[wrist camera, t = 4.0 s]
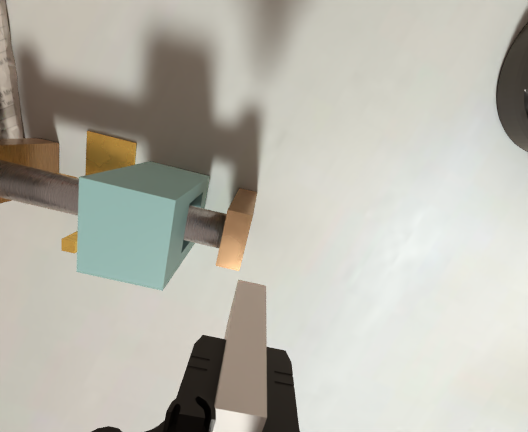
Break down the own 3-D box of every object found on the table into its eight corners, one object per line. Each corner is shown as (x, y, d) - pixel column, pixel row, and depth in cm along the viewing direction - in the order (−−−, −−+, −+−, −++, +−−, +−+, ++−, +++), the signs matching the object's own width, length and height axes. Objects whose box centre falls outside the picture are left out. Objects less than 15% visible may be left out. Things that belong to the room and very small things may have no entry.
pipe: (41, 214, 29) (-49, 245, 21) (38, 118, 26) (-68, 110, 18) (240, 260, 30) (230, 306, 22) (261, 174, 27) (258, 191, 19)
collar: (143, 224, 27) (76, 271, 18) (150, 161, 25) (79, 176, 16) (198, 237, 27) (162, 290, 18) (210, 176, 25) (175, 200, 16)
